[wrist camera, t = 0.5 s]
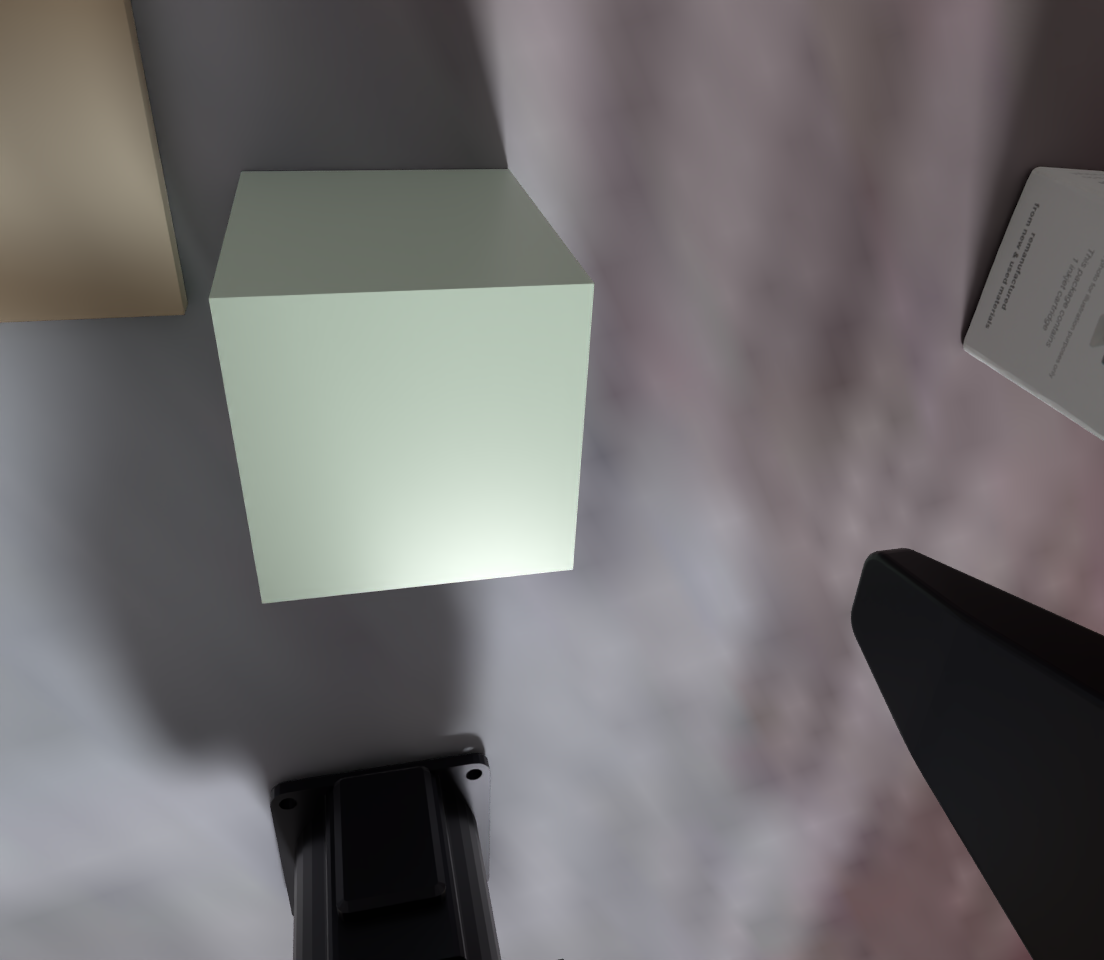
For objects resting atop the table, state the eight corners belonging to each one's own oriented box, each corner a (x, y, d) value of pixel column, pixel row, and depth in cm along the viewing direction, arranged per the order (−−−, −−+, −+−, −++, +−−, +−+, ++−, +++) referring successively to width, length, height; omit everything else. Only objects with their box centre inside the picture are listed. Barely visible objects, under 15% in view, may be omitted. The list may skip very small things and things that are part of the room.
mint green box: (504, 396, 21) (573, 569, 15) (275, 411, 20) (262, 603, 14) (508, 168, 18) (594, 283, 12) (241, 171, 17) (208, 299, 11)
